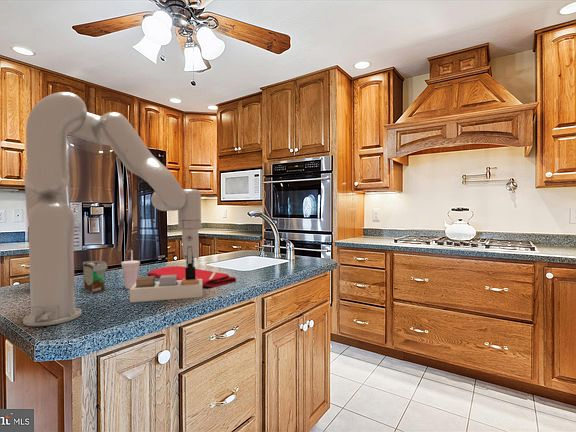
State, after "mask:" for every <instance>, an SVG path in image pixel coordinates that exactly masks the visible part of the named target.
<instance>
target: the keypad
mask: <svg viewBox="0 0 576 432" xmlns="http://www.w3.org/2000/svg"><path fill="white" fill-rule="evenodd" d="M194 298H196V299H197V298H203V286H202V279H198V284H189V285H182V280H177V285H173V286H160V280H159V281H155V286H154V287H141V288H136V283H135V284H134V285H133V286H132V288H131V289H129V303H141V302H142V303H144V302H152V301H153V302H154V301H155V302H156V301H166V300H168V301H169V300H182V299H194Z"/></svg>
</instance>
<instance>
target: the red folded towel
mask: <svg viewBox="0 0 576 432" xmlns="http://www.w3.org/2000/svg"><path fill="white" fill-rule="evenodd" d="M185 268H186V266H179V265H178V266H177V265H176V266H175V265H173V266H166V267H161V268H156V269H153V270H150V271H148V272H147V276H149V275H150V276H155V278H158V279H160V277H161V275H177V280H182V279H183V278H186V275H185ZM195 277H198V279H202V287H205V288H217V287H221V286H225V285H229V283H230V284H233V282H234V283H236V281H237V279H236V277H234V276H229V274H227V273H224V272H217V271H211V270H206V269H198V268H195Z"/></svg>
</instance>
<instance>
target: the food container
mask: <svg viewBox="0 0 576 432" xmlns="http://www.w3.org/2000/svg"><path fill="white" fill-rule="evenodd" d="M82 268H83V290H85V292H86V291H87V292H89V293H90V294H92V295H93V294H94V295H95V294H98V293H101V292H104V290H105V286H106V285H105V283H106V282H105V281H106V270H107V269H108V264H107V262H106V261H104V260H102V261H101V260H91V261H90V260H89V261H83V262H82Z"/></svg>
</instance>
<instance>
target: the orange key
mask: <svg viewBox="0 0 576 432" xmlns="http://www.w3.org/2000/svg"><path fill="white" fill-rule="evenodd" d="M189 284H198V277H195V279H189V280H186V278H183V279H182V285H189Z"/></svg>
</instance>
